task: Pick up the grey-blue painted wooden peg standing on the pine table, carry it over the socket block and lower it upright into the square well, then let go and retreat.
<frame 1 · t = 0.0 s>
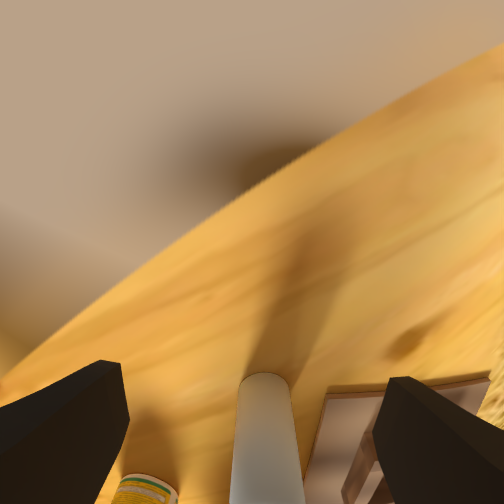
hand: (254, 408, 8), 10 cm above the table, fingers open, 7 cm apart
peg: (263, 392, 19), on the table
supplement bottle: (150, 487, 22), on the table
socket block: (391, 454, 21), on the table
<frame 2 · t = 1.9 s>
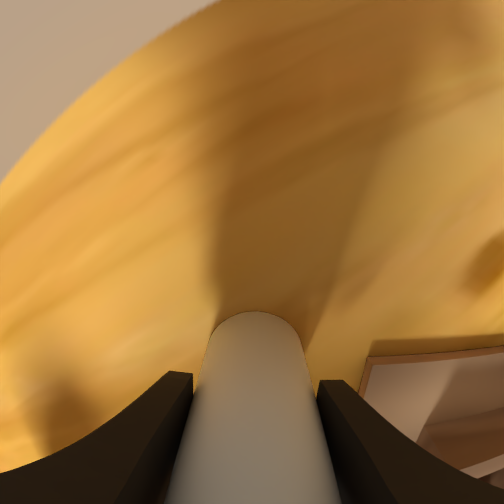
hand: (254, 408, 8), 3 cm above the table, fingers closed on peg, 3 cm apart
peg: (254, 354, 11), on the table, touching gripper
socket block: (451, 457, 12), on the table
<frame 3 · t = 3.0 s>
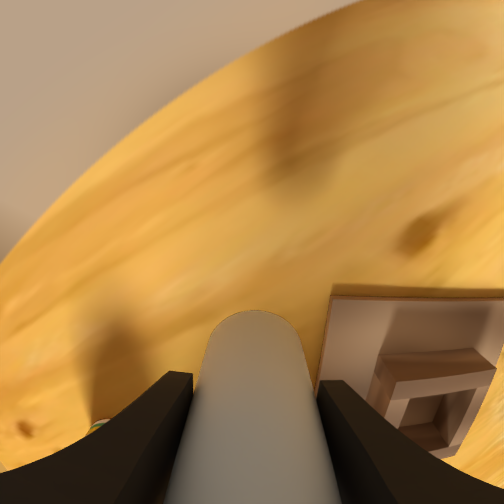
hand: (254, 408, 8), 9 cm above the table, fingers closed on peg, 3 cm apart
peg: (254, 353, 11), point 6 cm above the table, touching gripper
socket block: (411, 394, 18), on the table
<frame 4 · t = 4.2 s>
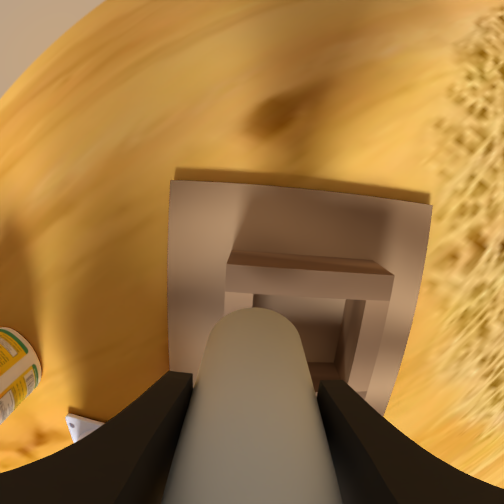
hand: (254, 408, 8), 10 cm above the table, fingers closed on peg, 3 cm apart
peg: (254, 351, 11), point 7 cm above the table, touching gripper
supplement bottle: (18, 355, 19), on the table
socket block: (295, 317, 18), on the table
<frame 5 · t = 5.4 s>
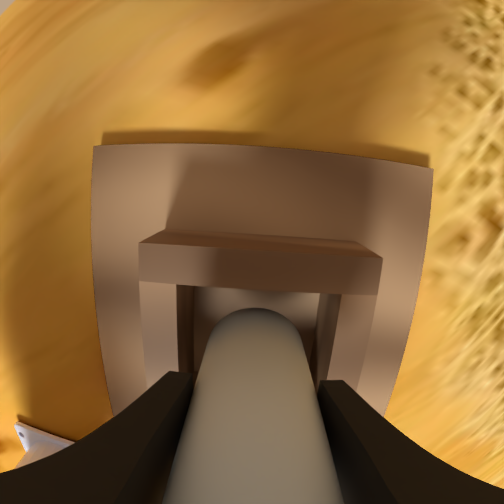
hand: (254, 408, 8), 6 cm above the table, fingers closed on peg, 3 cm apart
peg: (254, 351, 11), point 3 cm above the table, touching gripper
socket block: (254, 319, 14), on the table
when the fingers open (4 cm above the table, at t = 6.5 s): peg stays where it is, resting on socket block.
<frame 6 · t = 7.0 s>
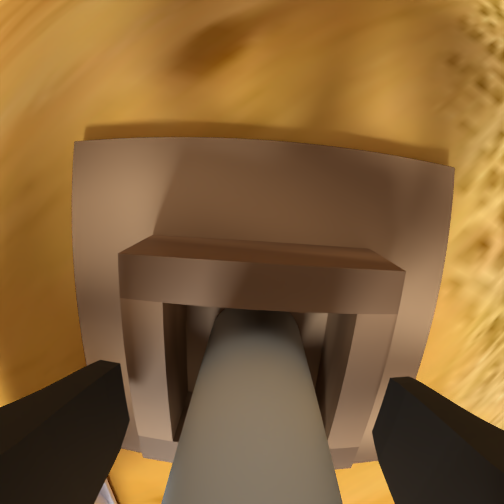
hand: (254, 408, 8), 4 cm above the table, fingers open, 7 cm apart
peg: (255, 339, 11), point 1 cm above the table, touching socket block
socket block: (255, 335, 12), on the table
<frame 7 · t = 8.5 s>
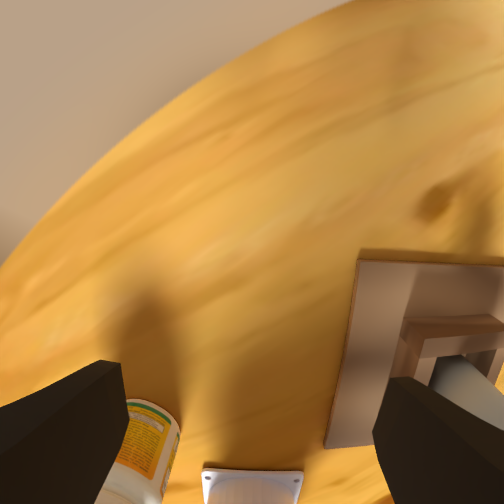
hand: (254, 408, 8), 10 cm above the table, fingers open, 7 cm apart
peg: (437, 364, 18), point 1 cm above the table, touching socket block
supplement bottle: (146, 422, 20), on the table
socket block: (433, 361, 19), on the table
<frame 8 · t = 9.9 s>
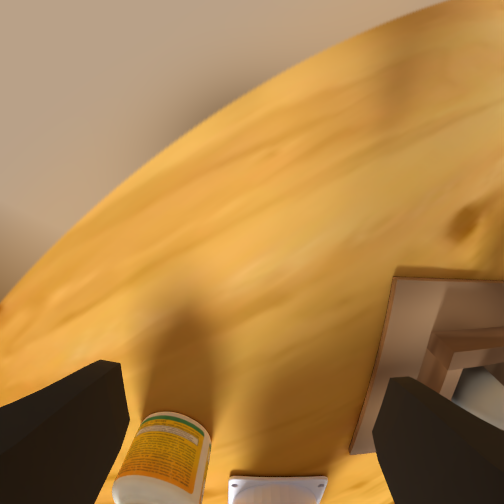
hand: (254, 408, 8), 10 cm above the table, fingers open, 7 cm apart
peg: (458, 373, 19), point 1 cm above the table, touching socket block
supplement bottle: (176, 433, 21), on the table
socket block: (453, 370, 19), on the table
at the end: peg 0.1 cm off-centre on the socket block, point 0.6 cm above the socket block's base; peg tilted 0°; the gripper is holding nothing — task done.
